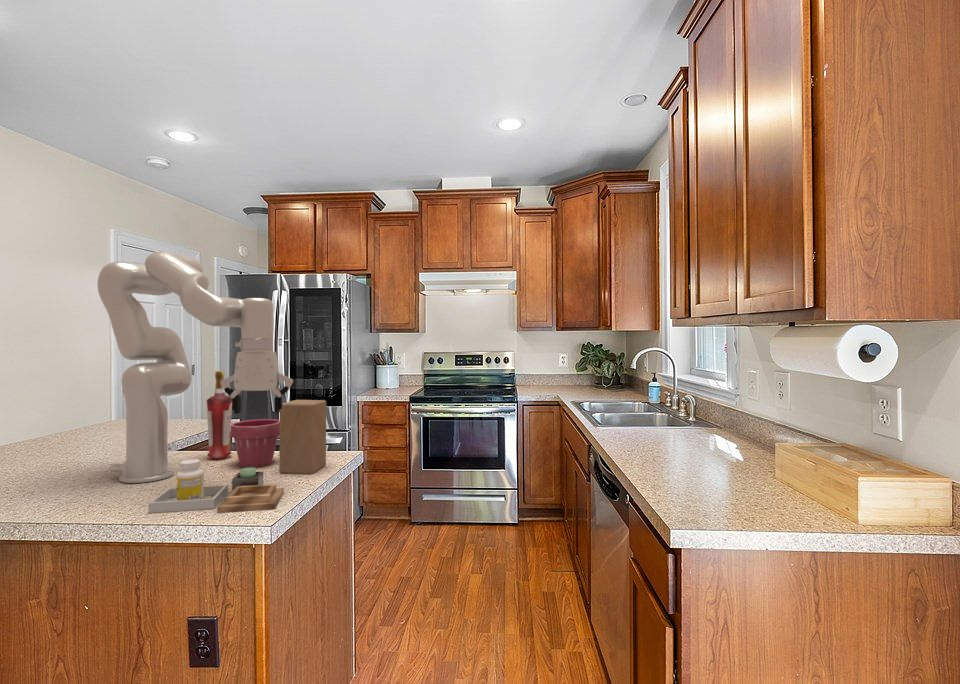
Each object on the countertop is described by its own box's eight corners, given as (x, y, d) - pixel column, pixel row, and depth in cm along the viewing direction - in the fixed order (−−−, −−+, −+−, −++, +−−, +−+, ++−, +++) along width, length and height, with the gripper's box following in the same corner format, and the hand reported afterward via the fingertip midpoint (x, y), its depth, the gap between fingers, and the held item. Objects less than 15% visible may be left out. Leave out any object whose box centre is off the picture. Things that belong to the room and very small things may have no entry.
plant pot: (226, 462, 153) (226, 421, 153) (273, 456, 162) (273, 417, 162) (236, 472, 142) (236, 428, 142) (286, 465, 151) (286, 423, 151)
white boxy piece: (232, 495, 121) (232, 479, 121) (238, 488, 127) (238, 472, 127) (258, 493, 122) (258, 477, 122) (263, 486, 128) (263, 471, 128)
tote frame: (148, 513, 108) (148, 503, 108) (168, 497, 119) (168, 488, 119) (214, 508, 111) (214, 499, 111) (227, 493, 122) (227, 484, 122)
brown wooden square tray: (217, 512, 109) (217, 500, 109) (231, 495, 121) (231, 484, 121) (275, 508, 112) (275, 496, 112) (283, 492, 123) (283, 482, 123)
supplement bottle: (184, 499, 118) (184, 458, 118) (207, 498, 118) (208, 458, 118) (172, 507, 112) (172, 464, 112) (196, 506, 113) (197, 463, 113)
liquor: (209, 456, 161) (209, 370, 161) (233, 454, 163) (234, 370, 163) (204, 461, 154) (204, 372, 154) (229, 459, 156) (230, 371, 156)
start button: (238, 481, 123) (238, 471, 123) (242, 477, 126) (242, 467, 126) (254, 480, 123) (254, 470, 123) (257, 476, 127) (257, 467, 127)
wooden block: (326, 465, 150) (326, 400, 150) (312, 474, 140) (312, 404, 140) (295, 464, 151) (295, 399, 151) (278, 473, 141) (278, 403, 141)
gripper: (216, 346, 122) (216, 415, 122) (289, 346, 125) (290, 413, 125) (225, 346, 129) (225, 411, 129) (295, 346, 132) (295, 409, 132)
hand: (257, 412), depth 127 cm, fingers open, 9 cm apart
